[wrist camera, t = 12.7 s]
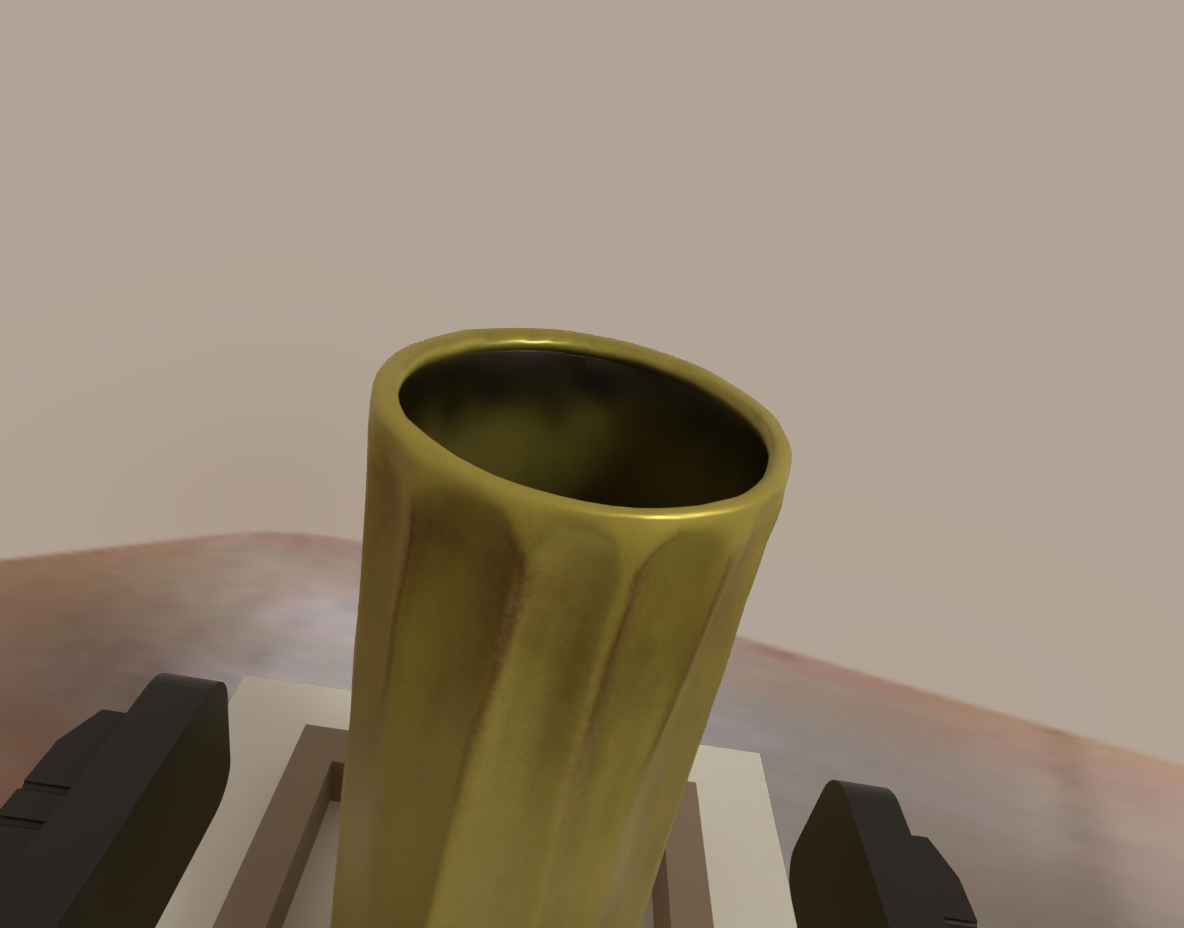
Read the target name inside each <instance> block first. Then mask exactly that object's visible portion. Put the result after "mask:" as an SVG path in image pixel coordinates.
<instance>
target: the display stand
mask: <svg viewBox="0 0 1184 928" xmlns="http://www.w3.org/2000/svg"><path fill="white" fill-rule="evenodd" d="M351 693H352V691H350V690H343V689H337V688H330V687H324V686H317V685H311V684H304V683H297V682H291V681H284V680H278V679H271V678H265V677H258V676H252V675H245V676H244V677H243V679H242V681H241V682H240V684H239V686H238V687H237V689H236V691H235V693H234V694H233V696H232V698H231V699H230V701H229V703H228V717H229V738H230V772H229V777H228V782H227V785H226V789H225V792H224V795H223V798H222V801H221V803H220V806H219V808H218V810H217V812H216V814H215V816H214V818H213V820H212V822H211V824H210V826H209V827H208V829H207V831H206V833H205V835H204V837H203V839H202V841H201V843H200V844H199V846H198V848H197V850H196V852H195V854H194V856H193V858H192V859H191V861H190V863H189V865H188V867H187V869H186V871H185V873H184V875H183V876H182V878H181V880H180V882H179V884H178V886H177V888H176V890H175V891H174V893H173V895H172V897H171V899H170V901H169V903H168V905H167V907H166V908H165V910H164V912H163V914H162V916H161V918H160V920H159V922H158V924H157V925H156V927H155V928H330V924H331V915H332V905H333V893H334V881H335V871H336V862H337V850H338V839H339V820H340V805H341V793H342V783H343V775H344V766H345V758H346V749H347V740H348V731H349V722H350V709H351ZM640 928H797V924H796V920H795V915H794V910H793V906H792V901H791V895H790V889H789V884H788V880H787V875H786V871H785V866H784V861H783V857H782V852H781V848H780V843H779V839H778V834H777V830H776V825H775V821H774V816H773V812H772V807H771V802H770V798H769V793H768V789H767V784H766V780H765V775H764V771H763V766H762V762H761V757H760V753H753V752H747V751H740V750H734V749H727V748H721V747H714V746H708V745H701V744H700V745H699V747H698V750H697V753H696V756H695V759H694V762H693V765H692V768H691V771H690V774H689V777H688V781H687V784H686V787H685V790H684V793H683V797H682V800H681V803H680V806H679V809H678V812H677V815H676V818H675V821H674V824H673V826H672V829H671V832H670V835H669V838H668V841H667V844H666V847H665V850H664V854H663V857H662V860H661V863H660V866H659V869H658V873H657V876H656V879H655V882H654V885H653V888H652V891H651V895H650V898H649V901H648V904H647V907H646V910H645V913H644V916H643V919H642V922H641V925H640Z"/></svg>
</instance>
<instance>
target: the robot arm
mask: <svg viewBox="0 0 1184 928" xmlns="http://www.w3.org/2000/svg"><path fill="white" fill-rule="evenodd" d="M229 772H230V738H229V717H228V696H227V688H226V685H225V684H224V683H223V682H219V681H212V680H206V679H200V678H193V677H187V676H180V675H174V674H168V673H162V674H159V675H157V676H156V677H155V678H154V679H153V680H152V681H151V682H150V683H149V684H148V685H147V687H146V688H145V689H144V691H143V692H142V693H141V695H140V696H139V697H138V699H137V700H136V701H135V703H134V704H133V705H132V707H131V708H130V709H129V711H128V712H127V713H122V712H115V711H109V710H101V711H100V712H98V713H97V714H95V715H94V716H92V717H91V718H89V719H88V720H86V721H85V722H83V723H82V724H81V725H79V726H78V727H76V728H75V729H73V730H72V731H70V732H69V733H67V734H66V735H65V736H63V737H62V738H60V739H59V740H57V741H56V743H55V744H54V745H53V746H52V747H51V749H50V750H49V751H48V752H47V754H46V755H45V756H44V757H43V758H42V760H41V761H40V762H39V763H38V764H37V766H36V767H35V768H34V769H33V770H32V772H31V773H30V774H29V775H28V777H27V778H26V779H25V780H24V785H23V787H22V788H21V789H17V790H16V791H15V792H14V794H13V795H12V796H11V797H10V798H9V800H8V801H7V802H6V803H5V804H4V806H3V807H2V808H1V809H0V928H155V927H156V925H157V924H158V922H159V920H160V918H161V916H162V914H163V912H164V910H165V908H166V907H167V905H168V903H169V901H170V899H171V897H172V895H173V893H174V891H175V890H176V888H177V886H178V884H179V882H180V880H181V878H182V876H183V875H184V873H185V871H186V869H187V867H188V865H189V863H190V861H191V859H192V858H193V856H194V854H195V852H196V850H197V848H198V846H199V844H200V843H201V841H202V839H203V837H204V835H205V833H206V831H207V829H208V827H209V826H210V824H211V822H212V820H213V818H214V816H215V814H216V812H217V810H218V808H219V806H220V803H221V801H222V798H223V795H224V792H225V789H226V785H227V782H228V777H229ZM789 884H790V895H791V901H792V906H793V910H794V915H795V920H796V924H797V928H977V919H976V917H975V915H974V912H973V910H972V908H971V905H970V903H969V901H968V898H967V896H966V894H965V891H964V889H963V887H962V884H961V882H960V880H959V877H958V876H957V875H956V874H955V872H954V871H953V870H952V868H951V867H950V866H949V865H948V863H947V862H946V861H945V859H944V858H943V857H942V856H941V854H940V853H939V852H938V850H937V849H936V848H935V847H934V845H933V844H932V843H931V842H930V840H929V839H928V838H926V837H920V836H913V835H911V833H910V831H909V828H908V826H907V823H906V820H905V818H904V815H903V813H902V810H901V808H900V805H899V803H898V801H897V798H896V797H895V795H894V794H893V793H892V792H891V791H890V790H889V789H887V788H882V787H876V786H869V785H863V784H857V783H850V782H844V781H837V780H831V781H830V782H828V783H827V784H826V786H825V787H824V789H823V791H822V793H821V795H820V797H819V799H818V801H817V803H816V805H815V807H814V809H813V811H812V813H811V815H810V817H809V819H808V821H807V823H806V825H805V827H804V829H803V831H802V833H801V835H800V837H799V839H798V841H797V843H796V845H795V847H794V850H793V853H792V857H791V863H790V873H789Z"/></svg>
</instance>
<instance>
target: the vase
mask: <svg viewBox="0 0 1184 928" xmlns="http://www.w3.org/2000/svg"><path fill="white" fill-rule="evenodd" d="M368 422H369V423H368V448H367V479H366V499H365V516H364V532H363V547H362V566H361V581H360V594H359V606H358V618H357V626H356V636H355V647H354V660H353V676H352V693H351V709H350V722H349V731H348V740H347V749H346V758H345V766H344V775H343V783H342V793H341V805H340V820H339V839H338V850H337V862H336V871H335V881H334V893H333V905H332V915H331V924H330V928H640V925H641V922H642V919H643V916H644V913H645V910H646V907H647V904H648V901H649V898H650V895H651V891H652V888H653V885H654V882H655V879H656V876H657V873H658V869H659V866H660V863H661V860H662V857H663V854H664V850H665V847H666V844H667V841H668V838H669V835H670V832H671V829H672V826H673V824H674V821H675V818H676V815H677V812H678V809H679V806H680V803H681V800H682V797H683V793H684V790H685V787H686V784H687V781H688V777H689V774H690V771H691V768H692V765H693V762H694V759H695V756H696V753H697V750H698V747H699V745H700V742H701V739H702V736H703V733H704V729H705V726H706V723H707V720H708V717H709V714H710V711H711V708H712V705H713V702H714V699H715V696H716V693H717V690H718V688H719V685H720V682H721V679H722V676H723V673H724V670H725V667H726V664H727V661H728V658H729V655H730V652H731V649H732V645H733V642H734V639H735V636H736V632H737V629H738V626H739V623H740V619H741V616H742V613H743V610H744V606H745V603H746V600H747V598H748V595H749V593H750V590H751V587H752V585H753V581H754V579H755V576H756V573H757V570H758V567H759V565H760V561H761V559H762V555H763V552H764V549H765V546H766V543H767V541H768V538H769V536H770V534H771V532H772V529H773V527H774V525H775V523H776V520H777V517H778V514H779V512H780V509H781V507H782V502H783V497H784V491H785V487H786V484H787V480H788V477H789V473H790V467H791V459H792V451H791V447H790V443H789V441H788V439H787V437H786V435H785V434H784V432H783V430H782V428H781V426H780V424H779V422H778V421H777V419H776V418H775V417H774V416H773V415H772V414H771V413H770V412H769V411H768V410H767V409H766V408H764V407H763V406H762V405H761V404H760V403H758V402H757V401H756V400H754V399H753V398H752V397H750V396H749V395H748V394H746V393H744V392H743V391H741V390H740V389H738V388H737V387H735V386H733V385H732V384H730V383H728V382H727V381H725V380H724V379H722V378H720V377H718V376H717V375H715V374H713V373H711V372H709V371H707V370H705V369H703V368H701V367H699V366H697V365H694V364H692V363H689V362H687V361H684V360H682V359H679V358H676V357H673V356H671V355H668V354H665V353H662V352H659V351H656V350H653V349H650V348H646V347H643V346H639V345H636V344H633V343H629V342H625V341H620V340H616V339H611V338H606V337H600V336H595V335H590V334H584V333H577V332H572V331H564V330H554V329H534V328H532V329H531V328H496V329H473V330H462V331H458V332H453V333H449V334H445V335H440V336H436V337H433V338H430V339H427V340H424V341H421V342H418V343H414V344H411V345H409V346H407V347H405V348H403V349H402V350H400V351H398V352H396V353H395V354H394V355H393V356H391V357H390V358H389V359H388V360H387V361H386V362H385V363H384V364H383V366H382V367H381V368H380V370H379V371H378V372H377V375H376V378H375V380H374V383H373V387H372V393H371V399H370V409H369V421H368Z"/></svg>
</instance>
